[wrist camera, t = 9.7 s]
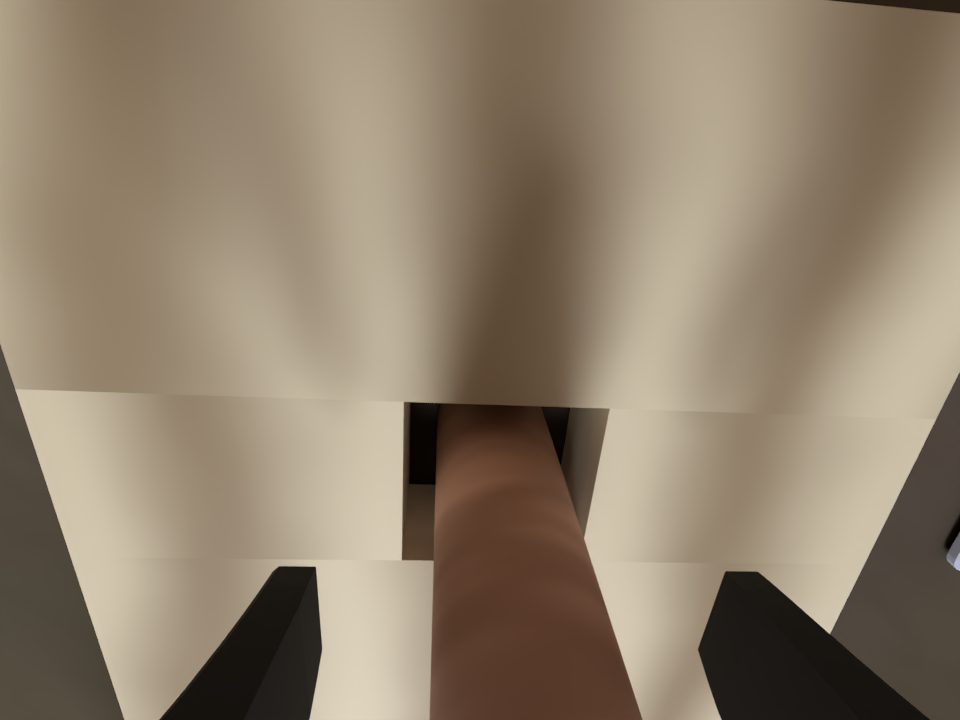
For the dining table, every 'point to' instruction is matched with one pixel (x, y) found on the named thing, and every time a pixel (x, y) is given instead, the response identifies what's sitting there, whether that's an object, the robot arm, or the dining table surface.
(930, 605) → the dining table surface
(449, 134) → the socket block
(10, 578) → the dining table surface
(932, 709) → the dining table surface
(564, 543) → the peg
